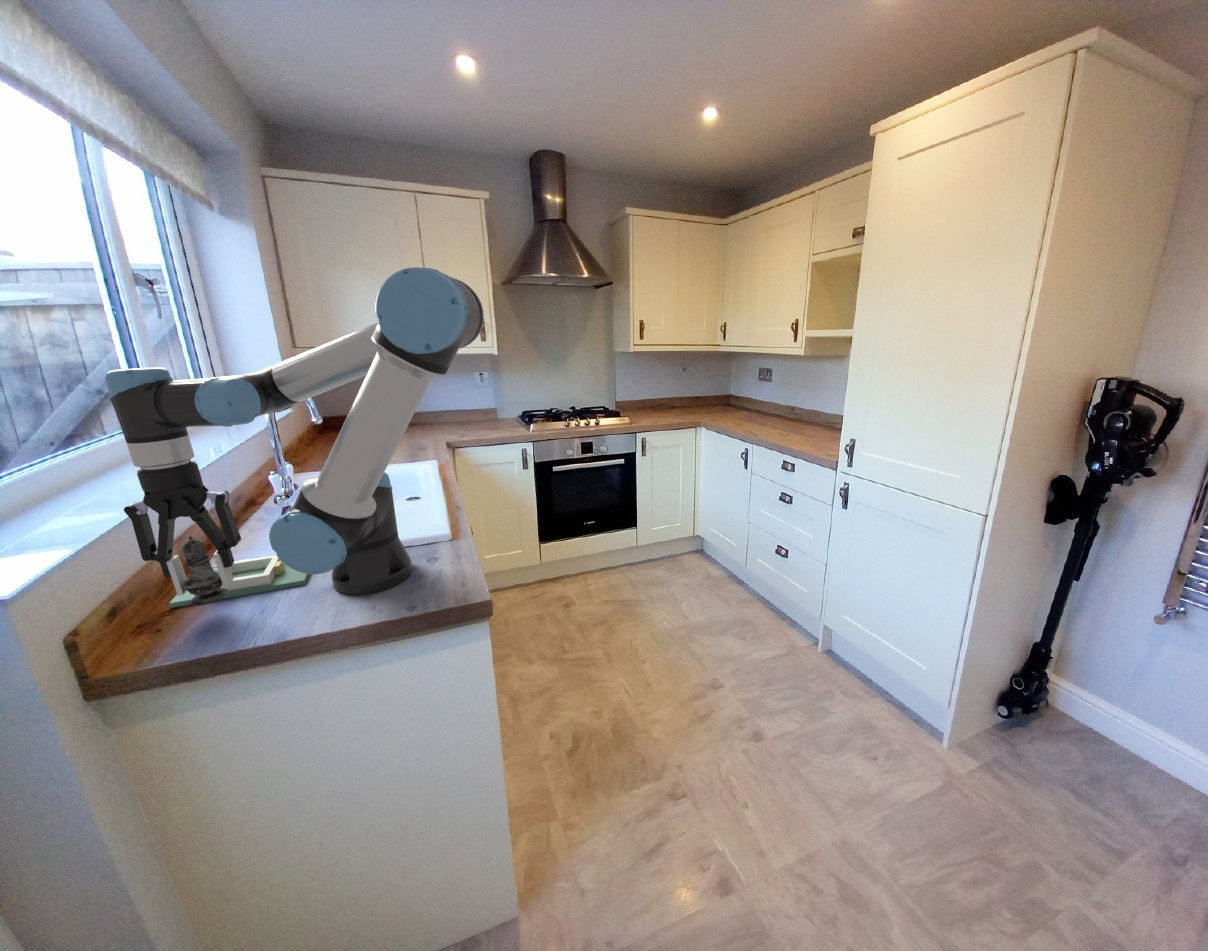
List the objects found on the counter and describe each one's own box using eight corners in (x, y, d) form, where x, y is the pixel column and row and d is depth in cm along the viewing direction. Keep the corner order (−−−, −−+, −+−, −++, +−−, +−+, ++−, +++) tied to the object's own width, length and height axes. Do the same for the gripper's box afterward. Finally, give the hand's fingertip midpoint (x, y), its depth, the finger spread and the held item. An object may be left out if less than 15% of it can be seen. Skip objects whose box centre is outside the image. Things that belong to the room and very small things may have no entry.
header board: (316, 556, 108) (314, 544, 107) (305, 584, 95) (302, 571, 94) (199, 574, 100) (196, 561, 99) (170, 608, 87) (165, 594, 86)
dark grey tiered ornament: (237, 587, 87) (219, 528, 83) (213, 604, 81) (193, 542, 78) (206, 589, 86) (186, 530, 83) (179, 606, 81) (157, 544, 77)
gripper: (241, 451, 83) (273, 567, 90) (105, 466, 76) (150, 589, 83) (227, 461, 76) (262, 585, 83) (76, 477, 70) (128, 611, 77)
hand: (206, 587), depth 83 cm, fingers closed on dark grey tiered ornament, 6 cm apart
